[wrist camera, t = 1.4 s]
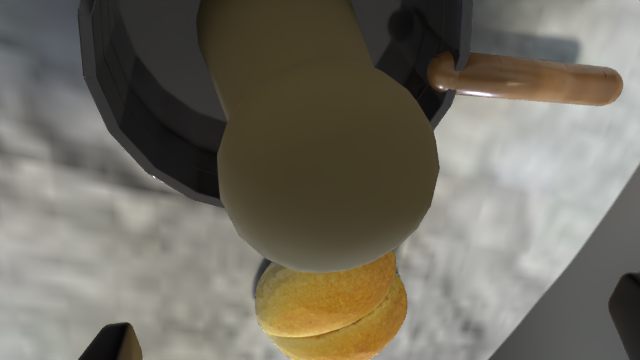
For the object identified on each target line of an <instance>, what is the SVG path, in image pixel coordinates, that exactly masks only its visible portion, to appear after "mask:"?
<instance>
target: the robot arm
mask: <svg viewBox="0 0 640 360" xmlns="http://www.w3.org/2000/svg"><path fill="white" fill-rule="evenodd" d="M608 308H609V312H610V315H611V318H612V320H613V322H614V325H615V327H616V329H617V332H618V334H619V336H620V339H621V341H622V343H623V346H624V348H625V351H626V353H627V355H628V358H629V360H640V271H639V272H628V273H625V274H623V275H622V276H621V278H620V280H619V281H618V283H617V285H616V287H615V289H614V291H613V293H612V295H611V297H610V299H609V302H608ZM78 360H143V357H142V350H141V347H140V345H139V342H138V339H137V337H136V334H135V332H134V329H133V327H132V325H131V324H130V323H116V324H108V325H106V326H105V327H103V328H102V329H101V331H100V332H99V333H98V334H97V336H96V337H95V338H94V340H93V341H92V342H91V344H90V345H89V346H88V347H87V349H86V350H85V351H84V353H83V354H82V355H81V356H80V358H79V359H78Z"/></svg>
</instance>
